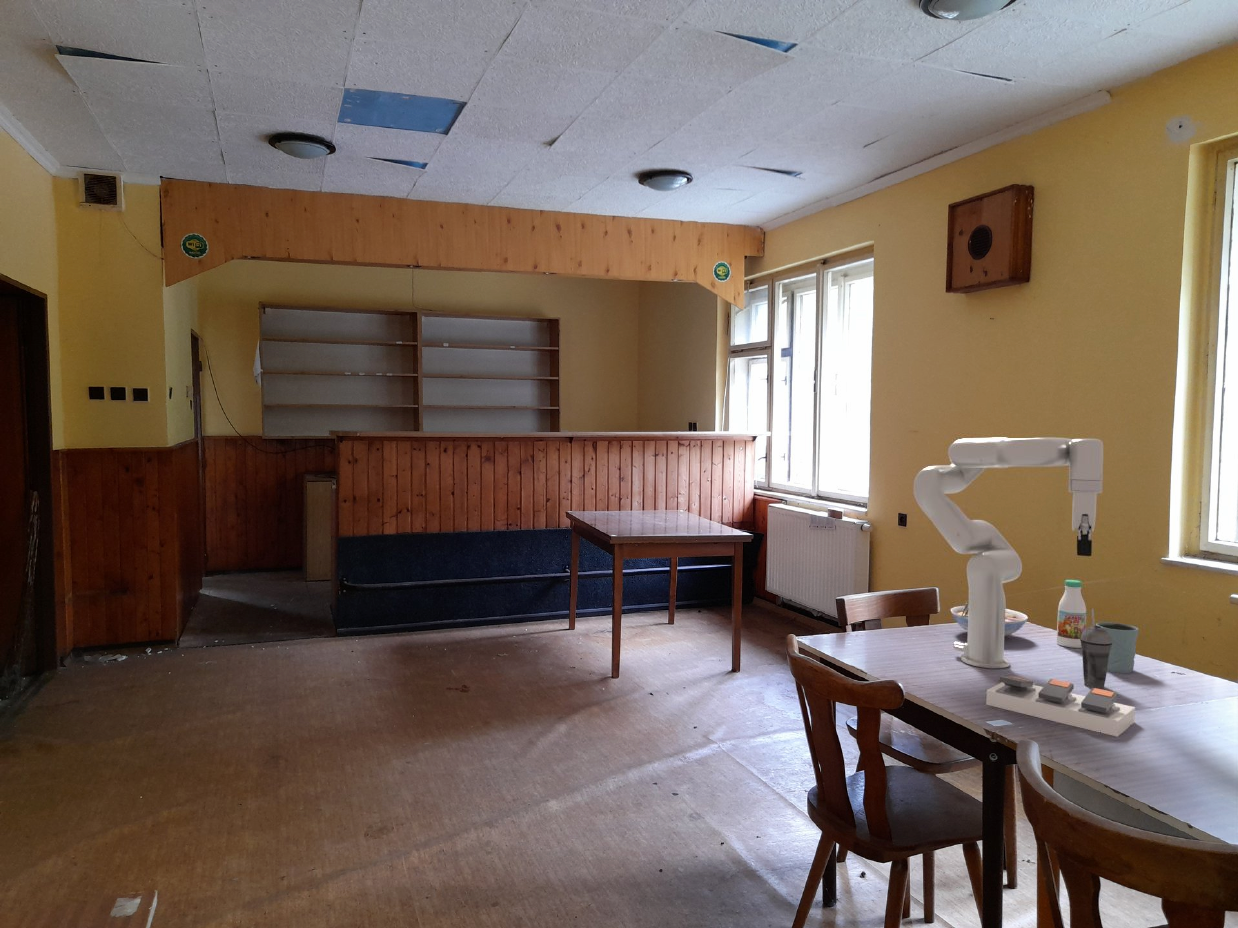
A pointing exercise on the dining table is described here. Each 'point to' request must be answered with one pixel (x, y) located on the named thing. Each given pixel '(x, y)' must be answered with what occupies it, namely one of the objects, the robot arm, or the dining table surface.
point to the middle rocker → (1056, 690)
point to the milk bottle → (1071, 615)
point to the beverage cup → (1095, 654)
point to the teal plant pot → (1121, 646)
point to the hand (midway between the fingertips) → (1083, 553)
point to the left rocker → (1016, 682)
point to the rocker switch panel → (1061, 709)
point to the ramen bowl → (1012, 618)
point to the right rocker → (1099, 700)
